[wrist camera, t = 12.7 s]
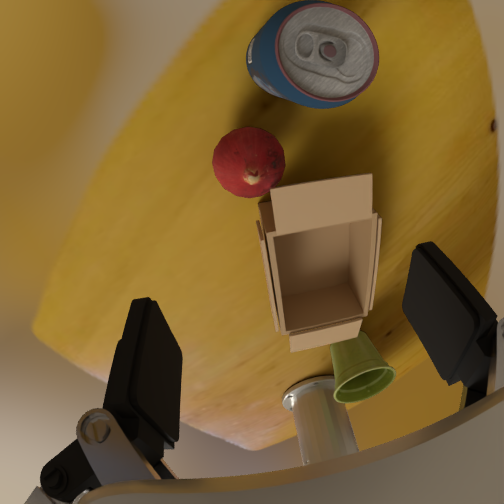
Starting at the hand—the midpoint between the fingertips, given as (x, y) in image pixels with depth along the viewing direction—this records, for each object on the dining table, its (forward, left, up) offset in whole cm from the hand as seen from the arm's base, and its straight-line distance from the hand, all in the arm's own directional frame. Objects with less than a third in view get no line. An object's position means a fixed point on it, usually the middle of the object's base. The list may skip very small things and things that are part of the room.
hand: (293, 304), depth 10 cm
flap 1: (-4, -5, -14) cm, 15 cm away
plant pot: (-31, -11, -20) cm, 39 cm away
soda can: (+8, -5, -20) cm, 22 cm away
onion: (0, 0, -20) cm, 20 cm away
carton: (-12, -5, -20) cm, 24 cm away
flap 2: (-20, -5, -14) cm, 25 cm away
